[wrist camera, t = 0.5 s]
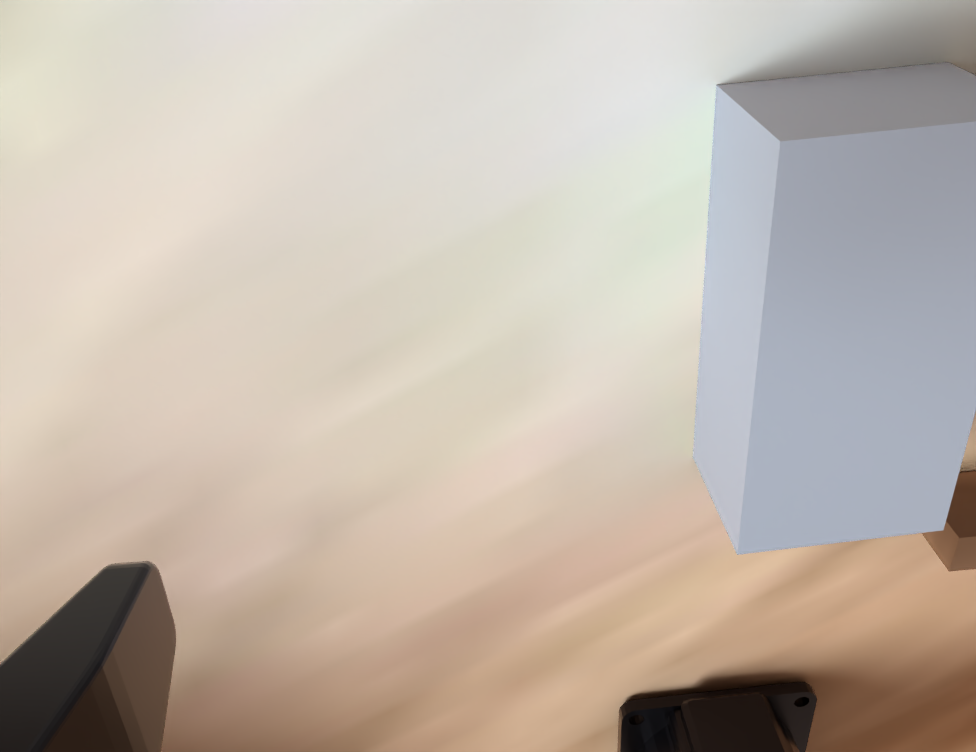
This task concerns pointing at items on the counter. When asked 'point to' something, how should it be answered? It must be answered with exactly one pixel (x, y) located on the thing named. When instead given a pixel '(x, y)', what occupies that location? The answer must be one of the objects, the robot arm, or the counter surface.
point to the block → (838, 305)
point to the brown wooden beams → (958, 527)
